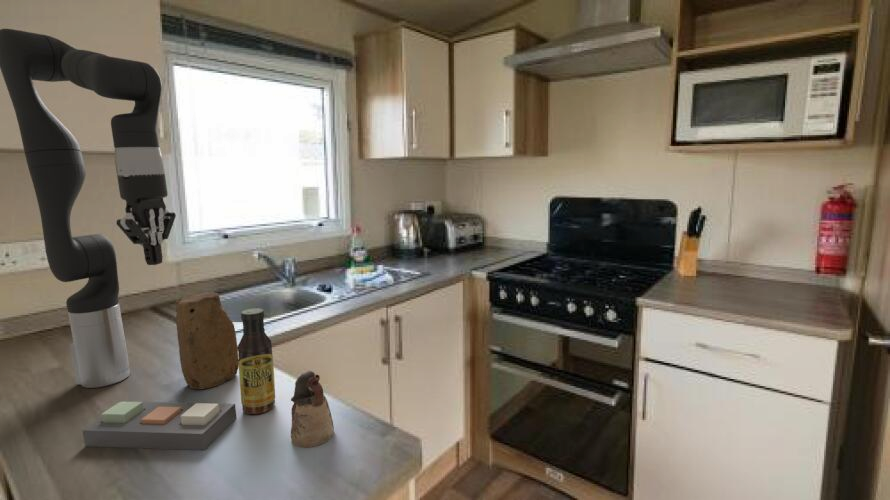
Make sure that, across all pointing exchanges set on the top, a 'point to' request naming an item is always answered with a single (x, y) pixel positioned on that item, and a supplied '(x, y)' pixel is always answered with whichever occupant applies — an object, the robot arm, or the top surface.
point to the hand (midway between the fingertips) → (154, 264)
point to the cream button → (200, 414)
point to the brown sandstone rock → (205, 341)
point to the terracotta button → (161, 415)
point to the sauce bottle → (255, 364)
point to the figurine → (310, 412)
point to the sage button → (122, 412)
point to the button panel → (160, 430)
